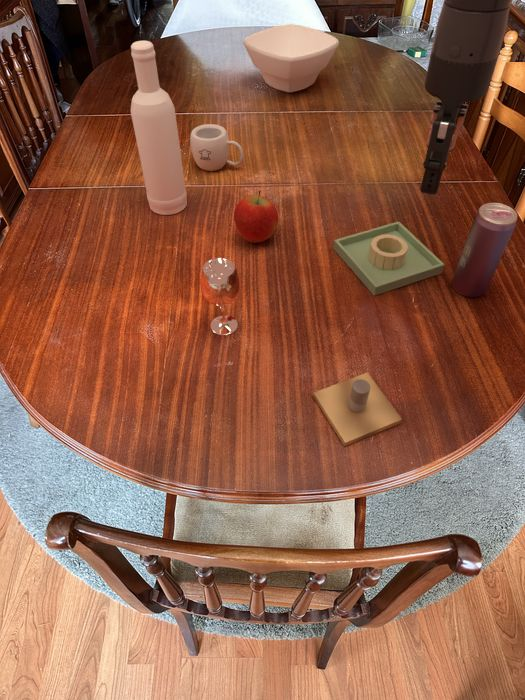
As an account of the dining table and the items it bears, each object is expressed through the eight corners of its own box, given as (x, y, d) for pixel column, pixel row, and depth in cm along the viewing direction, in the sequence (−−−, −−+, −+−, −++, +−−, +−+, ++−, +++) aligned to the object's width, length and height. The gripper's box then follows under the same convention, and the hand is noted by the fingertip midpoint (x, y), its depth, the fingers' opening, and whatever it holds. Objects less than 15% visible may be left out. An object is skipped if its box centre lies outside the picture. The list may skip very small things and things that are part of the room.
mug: (187, 171, 113) (182, 137, 108) (201, 153, 119) (197, 120, 113) (237, 179, 111) (236, 145, 105) (249, 161, 116) (249, 127, 110)
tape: (391, 244, 95) (394, 230, 93) (411, 264, 91) (414, 250, 89) (362, 253, 93) (364, 239, 91) (381, 273, 90) (383, 260, 87)
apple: (229, 231, 99) (226, 185, 91) (267, 222, 101) (267, 176, 93) (243, 255, 94) (241, 209, 86) (283, 245, 96) (285, 199, 88)
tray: (396, 229, 99) (398, 221, 97) (441, 273, 90) (444, 264, 89) (333, 248, 95) (334, 240, 94) (373, 295, 87) (375, 287, 85)
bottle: (149, 217, 102) (116, 54, 79) (148, 196, 107) (117, 37, 84) (189, 213, 103) (167, 51, 80) (186, 192, 108) (165, 34, 85)
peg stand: (366, 376, 75) (372, 352, 71) (401, 423, 70) (409, 400, 66) (312, 396, 73) (315, 372, 69) (344, 446, 68) (349, 424, 63)
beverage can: (490, 299, 86) (524, 224, 75) (455, 298, 86) (483, 224, 75) (481, 275, 90) (511, 201, 79) (447, 275, 90) (473, 201, 79)
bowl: (234, 84, 144) (232, 39, 135) (289, 64, 154) (291, 20, 145) (289, 110, 133) (291, 62, 125) (345, 86, 143) (350, 40, 134)
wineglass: (221, 344, 80) (215, 287, 71) (199, 324, 83) (190, 266, 73) (249, 326, 82) (246, 269, 73) (226, 307, 85) (222, 250, 76)
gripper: (493, 74, 54) (454, 208, 66) (504, 32, 62) (467, 157, 74) (422, 66, 56) (396, 198, 68) (441, 26, 64) (415, 149, 76)
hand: (433, 177), depth 71 cm, fingers open, 8 cm apart
